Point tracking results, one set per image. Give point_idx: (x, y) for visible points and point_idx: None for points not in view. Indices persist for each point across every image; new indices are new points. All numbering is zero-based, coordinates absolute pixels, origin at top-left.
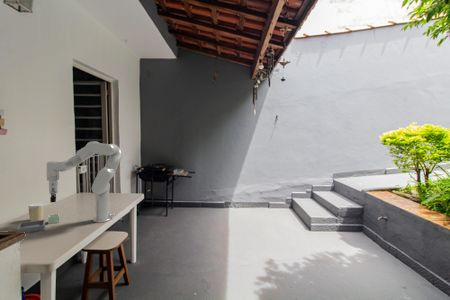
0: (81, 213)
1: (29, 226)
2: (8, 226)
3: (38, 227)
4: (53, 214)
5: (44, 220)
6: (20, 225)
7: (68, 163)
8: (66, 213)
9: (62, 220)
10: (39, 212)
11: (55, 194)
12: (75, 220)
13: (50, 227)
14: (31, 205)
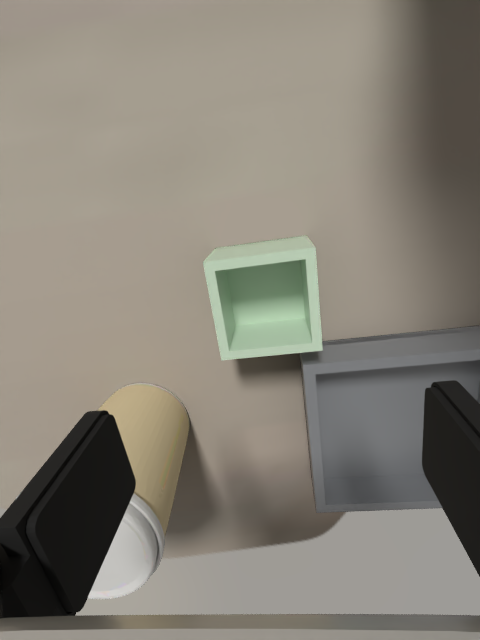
0: (14, 18)
1: (337, 438)
2: (240, 535)
3: None
4: (216, 317)
5: (336, 366)
6: (380, 500)
7: None
8: None
9: (241, 213)
10: (161, 451)
11: (43, 521)
12: (304, 57)
13: (426, 288)
14: (103, 580)
